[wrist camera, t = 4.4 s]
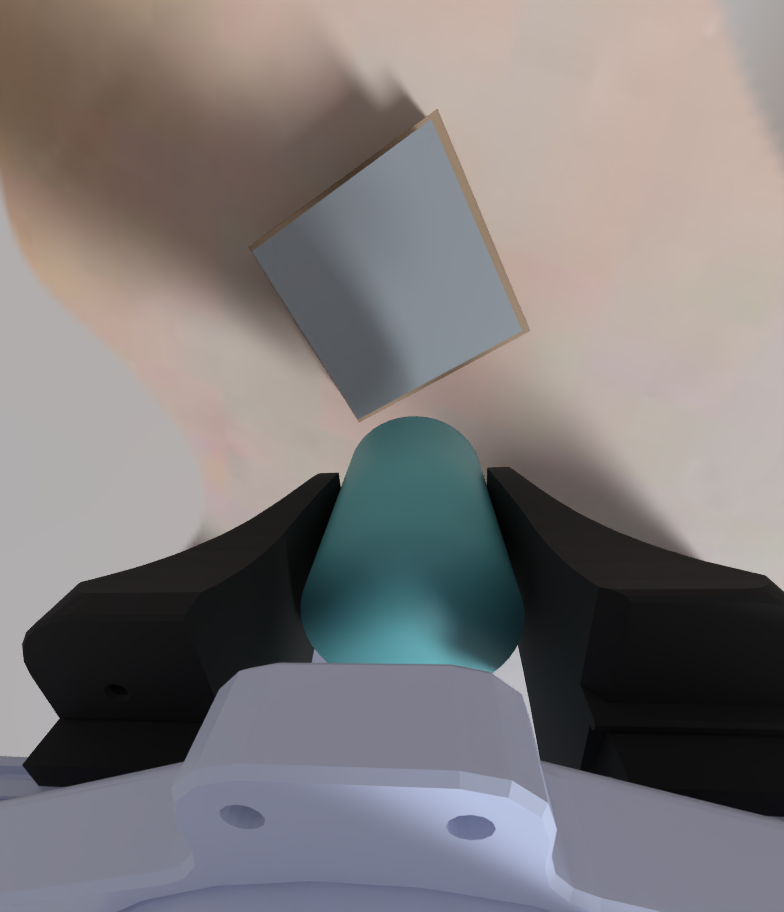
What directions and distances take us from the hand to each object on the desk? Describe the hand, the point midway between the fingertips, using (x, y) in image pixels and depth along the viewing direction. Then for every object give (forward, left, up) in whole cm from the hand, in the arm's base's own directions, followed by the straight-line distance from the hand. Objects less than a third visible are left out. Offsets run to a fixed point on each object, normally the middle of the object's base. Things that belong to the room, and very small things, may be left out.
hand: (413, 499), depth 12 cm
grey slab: (+2, +5, -7) cm, 9 cm away
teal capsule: (0, 0, -1) cm, 1 cm away
